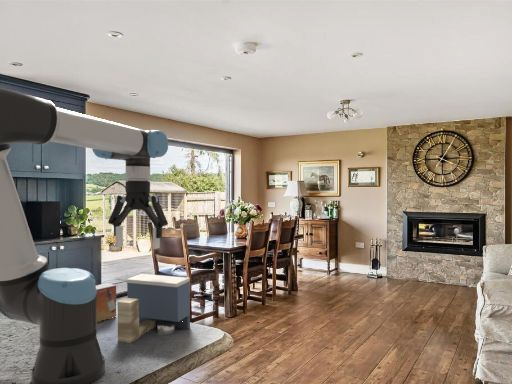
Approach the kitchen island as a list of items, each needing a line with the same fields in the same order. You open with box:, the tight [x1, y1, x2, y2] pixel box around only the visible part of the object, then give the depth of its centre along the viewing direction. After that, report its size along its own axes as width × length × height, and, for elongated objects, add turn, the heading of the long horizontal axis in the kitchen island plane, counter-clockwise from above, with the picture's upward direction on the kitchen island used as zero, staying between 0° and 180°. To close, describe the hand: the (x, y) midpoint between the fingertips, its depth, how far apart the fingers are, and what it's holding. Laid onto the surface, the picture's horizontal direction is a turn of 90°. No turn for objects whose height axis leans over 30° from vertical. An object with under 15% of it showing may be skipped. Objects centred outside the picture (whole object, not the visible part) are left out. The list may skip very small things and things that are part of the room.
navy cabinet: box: [125, 273, 191, 330], centre depth 122 cm, size 8×17×15 cm, turn 70°
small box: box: [96, 282, 117, 324], centre depth 132 cm, size 8×6×10 cm
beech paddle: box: [116, 297, 157, 344], centre depth 118 cm, size 13×4×11 cm, turn 160°
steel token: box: [156, 321, 176, 336], centre depth 120 cm, size 5×5×2 cm
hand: (137, 247), depth 130 cm, fingers open, 13 cm apart
